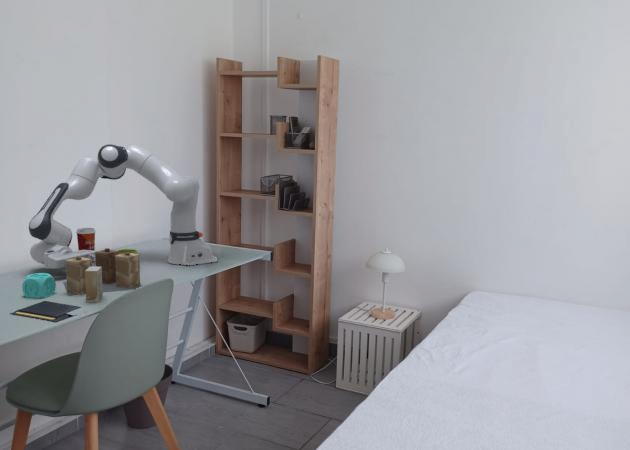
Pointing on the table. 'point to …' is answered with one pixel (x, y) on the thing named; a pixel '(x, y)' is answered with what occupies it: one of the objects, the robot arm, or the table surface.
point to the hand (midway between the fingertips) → (86, 261)
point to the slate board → (105, 288)
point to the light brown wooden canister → (77, 274)
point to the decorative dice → (38, 285)
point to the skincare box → (93, 284)
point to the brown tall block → (127, 270)
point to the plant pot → (127, 251)
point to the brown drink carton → (107, 264)
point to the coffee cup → (86, 239)
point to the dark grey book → (47, 311)
